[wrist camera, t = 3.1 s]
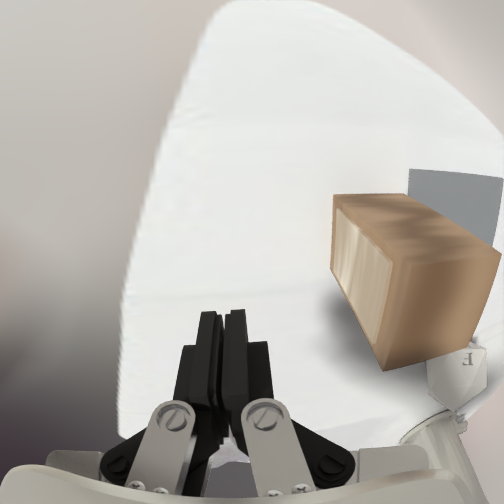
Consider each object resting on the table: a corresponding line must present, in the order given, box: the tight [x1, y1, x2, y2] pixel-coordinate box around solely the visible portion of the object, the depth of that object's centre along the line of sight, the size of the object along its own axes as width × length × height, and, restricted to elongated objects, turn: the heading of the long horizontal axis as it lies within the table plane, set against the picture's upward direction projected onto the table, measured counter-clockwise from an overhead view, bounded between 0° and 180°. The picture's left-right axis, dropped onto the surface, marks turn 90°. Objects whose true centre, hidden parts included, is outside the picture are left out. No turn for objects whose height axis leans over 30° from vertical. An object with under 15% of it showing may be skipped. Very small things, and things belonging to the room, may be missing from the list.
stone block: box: [211, 425, 250, 468], centre depth 32 cm, size 12×5×10 cm
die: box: [426, 342, 487, 412], centre depth 25 cm, size 8×9×10 cm
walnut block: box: [330, 194, 502, 372], centre depth 16 cm, size 6×6×11 cm
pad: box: [408, 169, 504, 247], centre depth 21 cm, size 13×10×1 cm
